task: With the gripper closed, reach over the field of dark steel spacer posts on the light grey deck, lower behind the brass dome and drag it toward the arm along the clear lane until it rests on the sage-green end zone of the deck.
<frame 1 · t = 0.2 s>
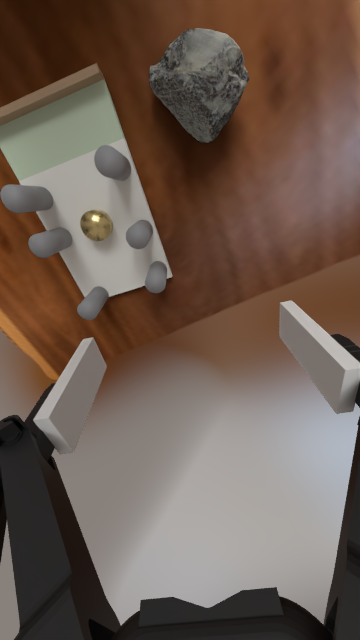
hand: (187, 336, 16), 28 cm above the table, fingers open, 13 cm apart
brass dome: (99, 224, 37), point 1 cm above the table, touching deck
deck: (95, 211, 37), on the table
stone: (197, 101, 31), on the table
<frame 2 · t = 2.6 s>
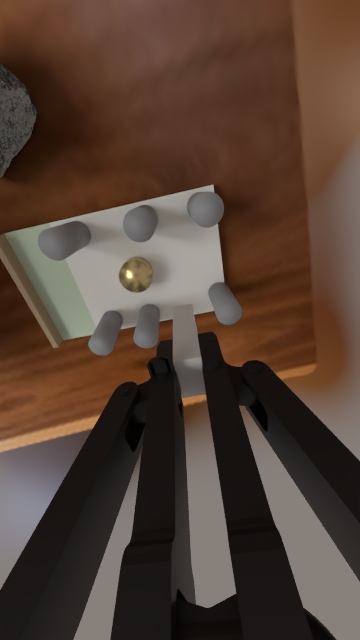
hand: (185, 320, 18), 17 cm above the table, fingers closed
brass dome: (137, 272, 32), point 1 cm above the table, touching deck
deck: (125, 272, 33), on the table
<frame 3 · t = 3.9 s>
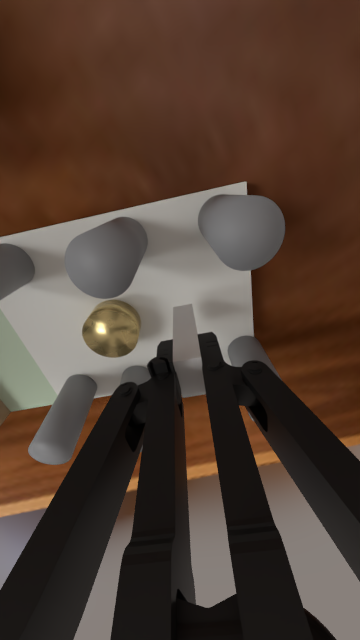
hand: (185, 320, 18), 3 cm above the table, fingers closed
brass dome: (116, 322, 20), point 1 cm above the table, touching deck
deck: (98, 320, 21), on the table
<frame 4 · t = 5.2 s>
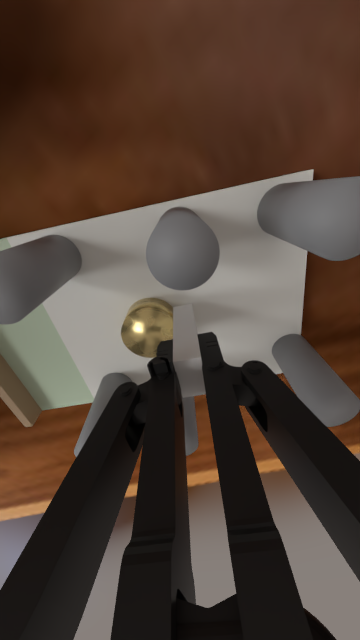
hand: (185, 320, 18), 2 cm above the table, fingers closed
brass dome: (152, 321, 19), point 1 cm above the table, touching gripper
deck: (139, 316, 21), on the table
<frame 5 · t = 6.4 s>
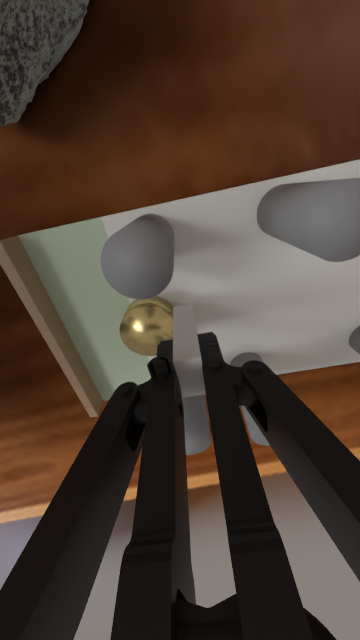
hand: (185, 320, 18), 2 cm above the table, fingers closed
brass dome: (151, 319, 19), point 1 cm above the table, touching gripper
deck: (215, 302, 20), on the table
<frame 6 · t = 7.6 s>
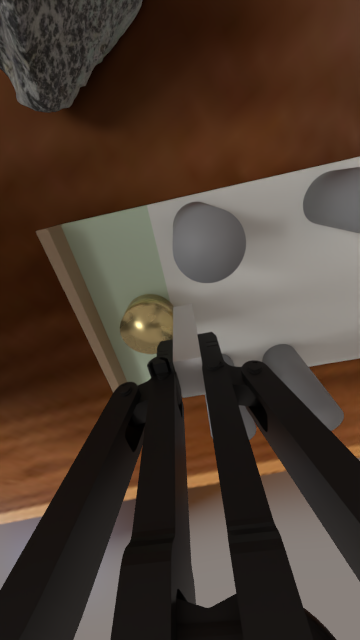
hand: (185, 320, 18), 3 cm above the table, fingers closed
brass dome: (151, 317, 20), point 1 cm above the table, touching deck, gripper
deck: (251, 293, 20), on the table
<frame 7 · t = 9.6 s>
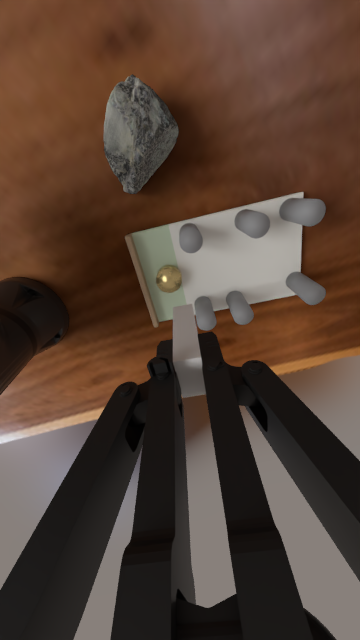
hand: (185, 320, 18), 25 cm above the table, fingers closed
brass dome: (169, 276, 41), point 1 cm above the table, touching deck
deck: (217, 264, 41), on the table
stone: (143, 144, 33), on the table
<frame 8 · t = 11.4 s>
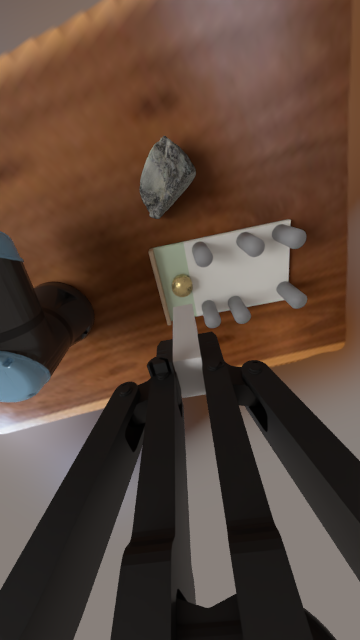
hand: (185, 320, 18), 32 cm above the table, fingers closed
brass dome: (182, 283, 49), point 1 cm above the table, touching deck
deck: (221, 274, 50), on the table
stone: (166, 180, 41), on the table
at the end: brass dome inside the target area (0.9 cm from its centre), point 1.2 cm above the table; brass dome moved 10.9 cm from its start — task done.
